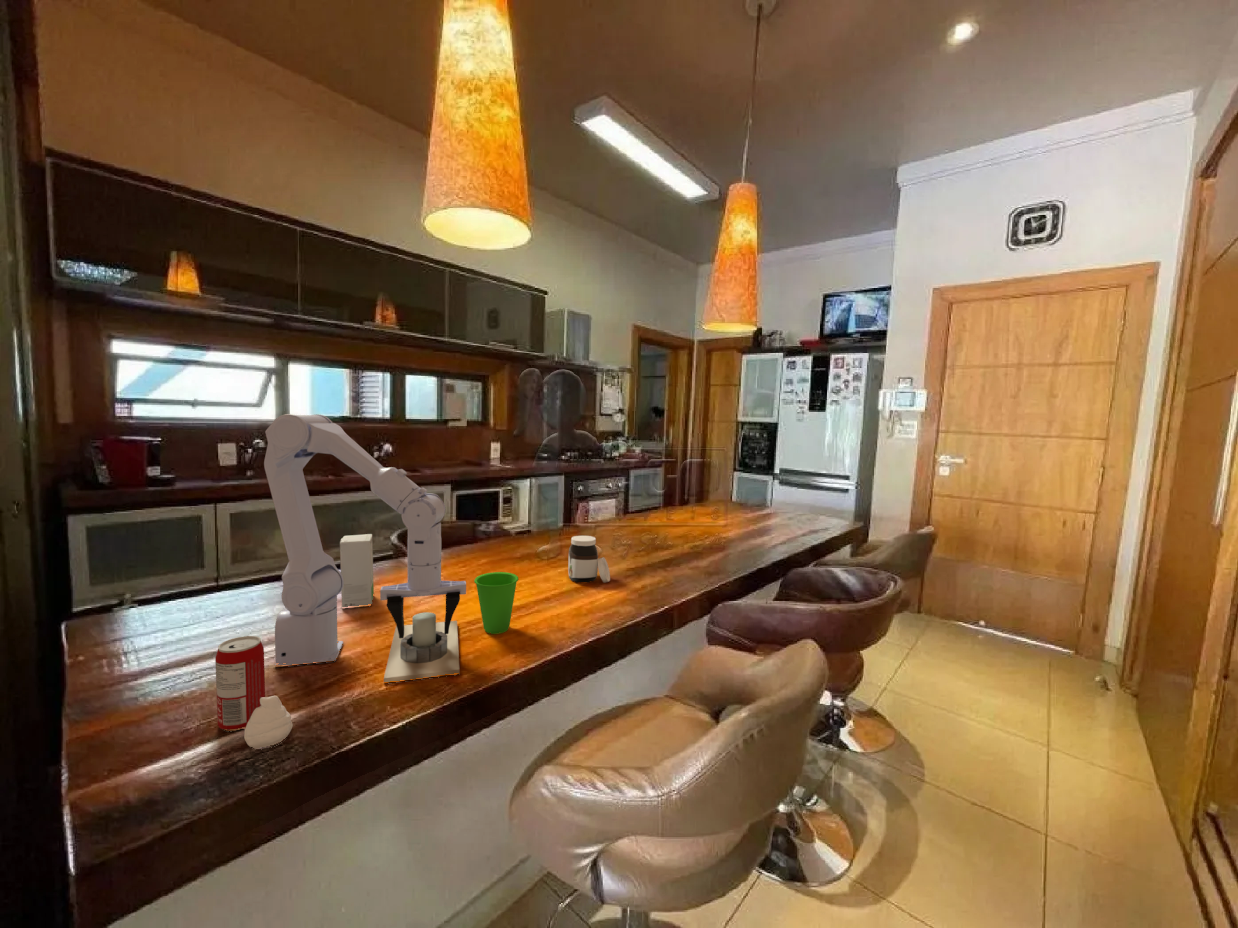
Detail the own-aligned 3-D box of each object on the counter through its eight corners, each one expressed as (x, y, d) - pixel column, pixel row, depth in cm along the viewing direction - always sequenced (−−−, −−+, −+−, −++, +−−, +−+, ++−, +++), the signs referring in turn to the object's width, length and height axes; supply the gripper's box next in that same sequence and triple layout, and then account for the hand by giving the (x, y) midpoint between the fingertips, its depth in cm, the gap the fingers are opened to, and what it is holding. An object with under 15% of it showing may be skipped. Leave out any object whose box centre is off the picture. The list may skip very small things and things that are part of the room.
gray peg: (411, 659, 92) (411, 621, 91) (413, 649, 96) (414, 613, 95) (434, 657, 93) (434, 620, 92) (436, 647, 97) (436, 611, 96)
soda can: (264, 706, 78) (262, 630, 77) (266, 724, 73) (264, 643, 72) (218, 718, 74) (215, 638, 73) (217, 738, 70) (214, 653, 69)
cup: (474, 640, 103) (473, 587, 102) (475, 622, 112) (474, 573, 111) (519, 636, 105) (519, 584, 104) (517, 618, 114) (517, 570, 113)
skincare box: (371, 607, 118) (371, 541, 117) (339, 610, 116) (338, 542, 114) (374, 595, 126) (373, 532, 124) (343, 597, 123) (343, 534, 122)
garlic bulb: (290, 683, 73) (293, 701, 69) (291, 723, 74) (294, 743, 70) (243, 694, 70) (242, 713, 66) (244, 735, 71) (244, 757, 66)
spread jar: (565, 574, 148) (566, 534, 147) (603, 572, 151) (604, 533, 150) (574, 587, 137) (575, 545, 136) (614, 585, 140) (616, 543, 139)
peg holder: (383, 684, 85) (383, 663, 85) (396, 630, 106) (396, 614, 106) (459, 674, 89) (459, 655, 89) (456, 625, 110) (457, 609, 109)
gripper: (377, 570, 87) (378, 647, 88) (466, 565, 92) (466, 638, 93) (382, 559, 94) (383, 631, 95) (465, 555, 98) (464, 623, 99)
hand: (424, 634), depth 94 cm, fingers open, 7 cm apart
